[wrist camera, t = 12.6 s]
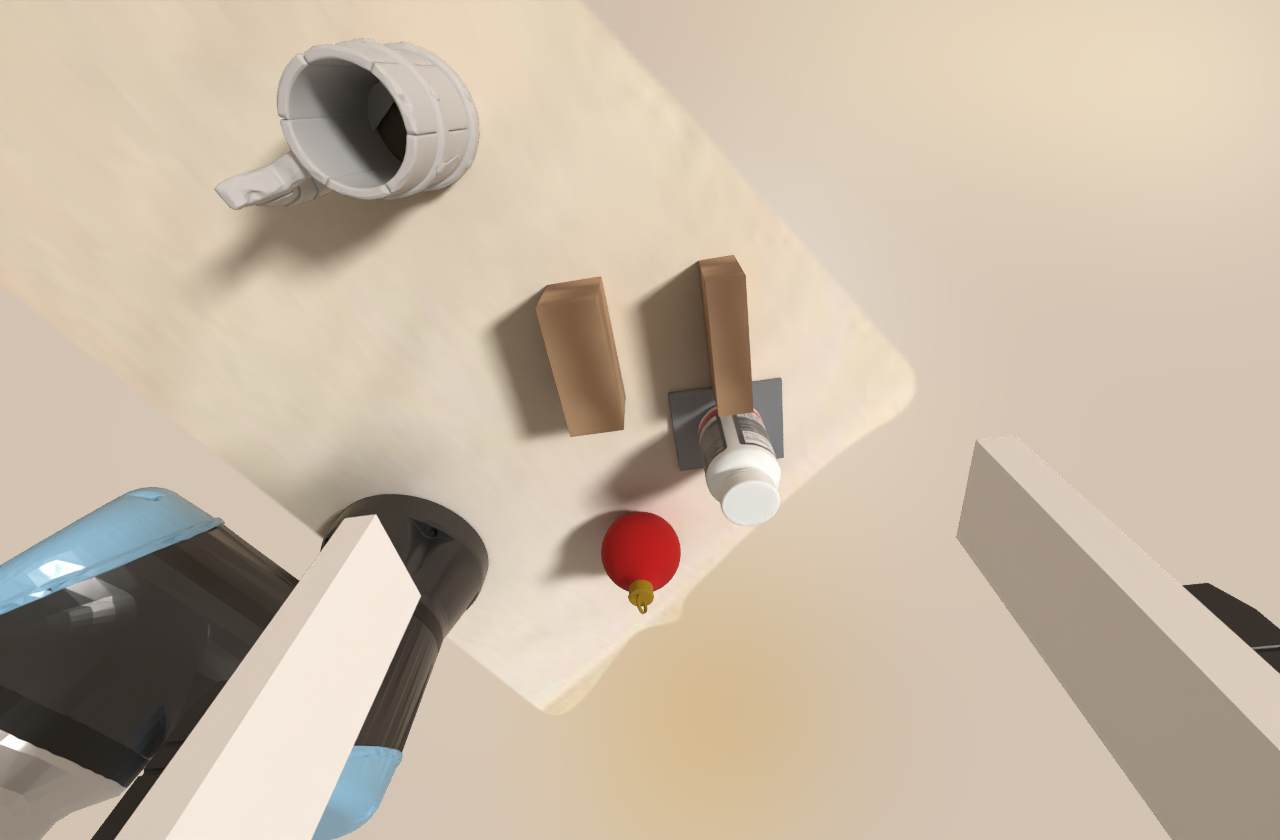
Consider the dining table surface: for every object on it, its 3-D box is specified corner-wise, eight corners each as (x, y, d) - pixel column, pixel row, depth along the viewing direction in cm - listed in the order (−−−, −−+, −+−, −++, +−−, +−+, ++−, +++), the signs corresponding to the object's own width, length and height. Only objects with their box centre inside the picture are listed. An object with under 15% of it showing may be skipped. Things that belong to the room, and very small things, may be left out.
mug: (509, 149, 34) (450, 171, 23) (368, 237, 37) (260, 290, 26) (433, 17, 30) (325, -26, 20) (284, 124, 33) (121, 135, 23)
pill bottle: (711, 462, 46) (726, 543, 37) (688, 413, 43) (698, 489, 35) (771, 440, 45) (800, 519, 36) (750, 389, 42) (777, 461, 34)
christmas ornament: (690, 536, 51) (699, 624, 42) (625, 560, 53) (622, 649, 44) (658, 485, 48) (661, 569, 39) (590, 512, 49) (579, 598, 41)
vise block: (577, 403, 43) (570, 436, 39) (547, 285, 38) (535, 308, 34) (742, 380, 42) (753, 412, 38) (733, 255, 37) (745, 275, 33)
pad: (679, 467, 47) (680, 470, 46) (668, 393, 43) (668, 395, 42) (782, 455, 46) (783, 457, 46) (780, 377, 42) (781, 379, 42)
